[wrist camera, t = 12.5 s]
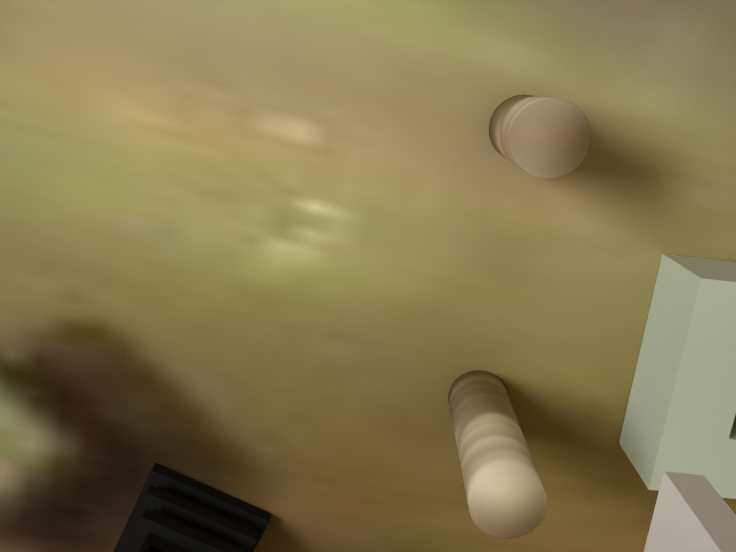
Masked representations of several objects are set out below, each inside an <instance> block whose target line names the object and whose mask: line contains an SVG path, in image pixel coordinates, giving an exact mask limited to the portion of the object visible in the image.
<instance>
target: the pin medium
mask: <svg viewBox="0 0 736 552" xmlns="http://www.w3.org/2000/svg"><path fill="white" fill-rule="evenodd" d="M448 400H449V406H450V411H451V416H452V422H453V427H454V432H455V437H456V443H457V448H458V453H459V458H460V464H461V469H462V474H463V480H464V485H465V490H466V495H467V501H468V506H469V511H470V515H471V518H472V520H473V522H474V523H475V524H476V526H477V527H478V528H479V529H480V530H482V531H483V532H485V533H486V534H488V535H491V536H493V537H497V538H504V539H509V538H517V537H520V536H523V535H525V534H527V533H529V532H531V531H532V530H534V529H535V528H536V527H537V526H538V525H539V524H540V523H541V521H542V520H543V518H544V516H545V513H546V510H547V498H546V494H545V491H544V489H543V486H542V483H541V481H540V478H539V475H538V473H537V470H536V468H535V465H534V462H533V460H532V457H531V454H530V452H529V449H528V447H527V444H526V441H525V439H524V436H523V433H522V431H521V428H520V426H519V423H518V420H517V418H516V415H515V412H514V410H513V407H512V405H511V402H510V399H509V397H508V394H507V391H506V389H505V386H504V384H503V383H502V381H501V380H500V379H499V378H498V377H497V376H495V375H493V374H492V373H489V372H486V371H471V372H467V373H465V374H463V375H461V376H460V377H459V378H457V379H456V380H455V381H454V383H453V384H452V386H451V388H450V391H449V396H448Z"/></svg>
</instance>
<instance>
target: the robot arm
mask: <svg viewBox="0 0 736 552" xmlns="http://www.w3.org/2000/svg"><path fill="white" fill-rule="evenodd" d="M644 552H736V515H735V514H734V512H733V511H732V510H731V509H730V507H729V506H728V505H727V504H726V502H725V501H724V500H723V499H722V497H721V496H720V495H719V494H718V492H717V491H716V490H715V489H714V487H713V486H712V485H711V484H710V482H709V481H708V480H707V479H706V477H705V476H704V475H695V474H686V473H677V472H667V471H664V474H663V478H662V482H661V486H660V490H659V494H658V498H657V502H656V505H655V509H654V513H653V517H652V521H651V525H650V529H649V533H648V537H647V541H646V545H645V549H644Z"/></svg>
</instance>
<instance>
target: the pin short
mask: <svg viewBox="0 0 736 552" xmlns="http://www.w3.org/2000/svg"><path fill="white" fill-rule="evenodd" d="M489 136H490V140H491V142H492V145H493V146H494V148H495V149H496V150H497V152H498V153H500V154H501V155H502V156H504V157H505V158H507V159H508V160H509V161H511V162H512V163H514V164H515V165H517V166H518V167H520V168H521V169H523V170H524V171H526V172H527V173H529V174H531V175H533V176H535V177H538V178H543V179H554V178H559V177H562V176H565V175H567V174H569V173H570V172H572V171H573V170H574V169H576V168H577V167H578V166H579V165H580V164H581V163H582V161H583V160H584V158H585V156H586V155H587V152H588V150H589V147H590V142H591V130H590V126H589V122H588V120H587V118H586V116H585V115H584V113H583V112H582V111H581V110H580V109H579V108H578V107H577V106H576V105H574V104H573V103H570V102H568V101H566V100H562V99H555V98H547V97H539V96H531V95H517V96H513V97H511V98H509V99H507V100H505V101H504V102H502V103H501V104H500V105H499V106H498V107H497V108H496V110H495V111H494V113H493V115H492V117H491V120H490V124H489Z"/></svg>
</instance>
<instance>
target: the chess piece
mask: <svg viewBox="0 0 736 552" xmlns="http://www.w3.org/2000/svg"><path fill="white" fill-rule="evenodd" d="M270 516H271V513H269V512H266V511H264V510H262V509H259V508H257V507H255V506H253V505H250V504H248V503H246V502H243V501H241V500H239V499H237V498H234V497H232V496H230V495H227V494H225V493H223V492H221V491H218V490H216V489H214V488H211V487H209V486H207V485H205V484H202V483H200V482H198V481H195V480H193V479H191V478H189V477H186V476H184V475H182V474H179V473H177V472H175V471H173V470H170V469H168V468H166V467H163V466H161V465H159V464H157V463H155V465H154V466H153V468H152V470H151V472H150V474H149V476H148V478H147V481H146V483H145V485H144V487H143V489H142V491H141V494H140V496H139V498H138V500H137V502H136V505H135V507H134V509H133V511H132V513H131V515H130V518H129V520H128V522H127V524H126V526H125V528H124V531H123V533H122V535H121V537H120V539H119V542H118V544H117V546H116V548H115V550H114V552H253V551H254V549H255V547H256V545H257V543H258V541H259V540H260V538H261V536H262V534H263V532H264V530H265V528H266V526H267V524H268V523H269V520H270Z"/></svg>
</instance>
